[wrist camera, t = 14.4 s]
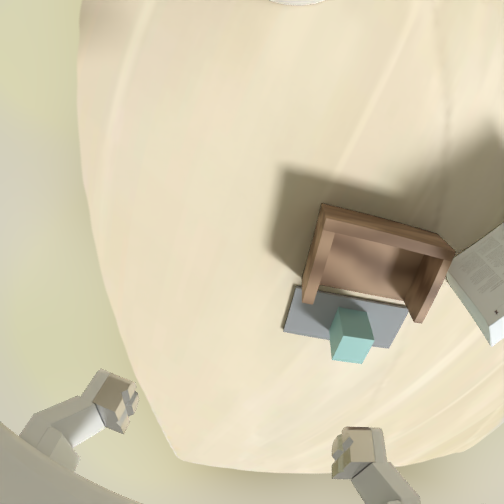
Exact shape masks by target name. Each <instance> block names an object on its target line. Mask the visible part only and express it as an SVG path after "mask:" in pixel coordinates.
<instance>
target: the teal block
mask: <svg viewBox="0 0 504 504" xmlns="http://www.w3.org/2000/svg"><path fill="white" fill-rule="evenodd" d="M329 335H330V345H331V356H332V360H337V361H344V362H352V363H360V364H362V363H363V361H364V359H365V357H366V355H367V354H368V352H369V350H370V348H371V346H372V344H373V343H374V341H375V340H374V336H373V332H372V329H371V325H370V322H369V318H368V315H367V312H363V311H358V310H352V309H347V308H341V307H338V309H337V312H336V314H335V317H334V320H333V322H332V324H331V327H330V329H329Z"/></svg>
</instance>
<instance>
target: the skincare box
mask: <svg viewBox="0 0 504 504" xmlns="http://www.w3.org/2000/svg"><path fill="white" fill-rule="evenodd" d="M446 277H447V280H448V283H449V285H450V287H451V288H452V289H453V291H454V292H455V293H456V295H457V296H458V298H459V299H460V300H461V302H462V303H463V305H464V306H465V307H466V309H467V310H468V312H469V313H470V315H471V316H472V318H473V319H474V321H475V322H476V324H477V325H478V327H479V328H480V330H481V331H482V333H483V335H484V336H485V338H486V339H487V341H488V343H489V344H490V346H491V347H492V346H493V345H495V344H496V343H497V342H499V341H500V340H501V339H503V338H504V222H503V223H502V224H501V225H499V226H498V227H497V228H495V229H494V230H493V231H491V232H490V233H489V234H487V235H486V236H485V237H483V238H482V239H480V240H479V241H478V242H476V243H475V244H473V245H472V246H471V247H469V248H468V249H466V250H465V251H463V252H462V253H460V254H459V255H458V256H456V257H455V258H453V260H452V262H451V265H450V267H449V269H448V272H447V274H446Z"/></svg>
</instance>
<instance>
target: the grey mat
mask: <svg viewBox="0 0 504 504" xmlns="http://www.w3.org/2000/svg"><path fill="white" fill-rule="evenodd" d="M338 307H341V308H347V309H352V310H358V311H363V312H367V315H368V318H369V322H370V325H371V329H372V332H373V336H374V340H375V341H374V343H373V344H372V346H373V347H381V348H389V347H390V345H391V343H392V342H393V340H394V338H395V336H396V334H397V333H398V331H399V329H400V327H401V325H402V323H403V321H404V319H405V318H406V316H407V314H408V312H409V311H408V309H407V307H404V306H398V305H393V304H387V303H382V302H376V301H371V300H366V299H360V298H355V297H350V296H345V295H340V294H334V293H329V292H324V291H319V290H318V291H317V294H316V297H315V300H314V303H313V305H311V304H306V303H302V287H299V286H296V289H295V292H294V296H293V299H292V303H291V306H290V309H289V313H288V316H287V320H286V323H285V326H284V329H283V332H287V333H293V334H298V335H304V336H309V337H315V338H321V339H327V340H330V335H329V329H330V327H331V324H332V322H333V320H334V317H335V314H336V312H337V309H338Z"/></svg>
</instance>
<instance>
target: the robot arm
mask: <svg viewBox="0 0 504 504" xmlns="http://www.w3.org/2000/svg"><path fill="white" fill-rule="evenodd" d="M270 1H273V2H276V3H280V4H286V5H310V4H315V3H319V2H322V1H324V0H270ZM136 387H137V386H136V382H133V381H131V380H128V379H125V378H123V377H120V376H118V375H115V374H113V373H111V372H108V371H106V370H103V369H100V370H99V371H98V372H97V373H96V375H95V376H94V378H93V379H92V380H91V382H90V383H89V385H88V387H87V388H86V389H85V391H84V392H83V394H82V395H81V397H80V396H75V397H73V398H71V399H69V400H66V401H64V402H62V403H59V404H57V405H54V406H52V407H50V408H47V409H45V410H42V411H40V412H38V413H35V414H34V415H33V416H32V418H31V419H30V420H29V422H28V423H27V425H26V426H25V428H24V429H23V431H22V432H21V434H20V435H19V436H18V435H16V434H15V433H14V432H12V431H11V430H10V429H9V428H7V427H6V426H5V425H4V424H3V423H1V422H0V504H142V503H139V502H137V501H134V500H131V499H129V498H127V497H124V496H122V495H119V494H117V493H115V492H113V491H110V490H108V489H106V488H104V487H102V486H99V485H98V484H95V483H94V482H92V481H90V480H88V479H85V478H84V477H82V476H80V475H78V474H76V473H75V472H74V471H75V469H76V467H77V465H78V463H79V461H80V458H79V456H78V454H77V453H76V452H75V450H74V449H73V447H75V446H76V445H78V444H80V443H82V442H83V441H85V440H87V439H88V438H90V437H91V436H93V435H95V434H96V433H98V432H100V431H101V430H103V429H104V428H105V427H107V428H109V429H112V430H114V431H117V432H119V433H122V434H124V433H125V431H126V429H127V427H128V425H129V423H130V421H129V416H130V415H133V414H134V413H135V411H136V409H137V405H138V402H139V396H138V393H137V392H136V391H135V389H136ZM332 457H333V458H334V459H335V462H334V463H333V464H332V479H352V480H351V481H352V483H353V485H354V486H355V488H356V490H357V491H358V493H359V494H360V496H361V498H362V499H363V501H364V502H365V504H421V503H420V496H419V495H418V494H417V493H416V492H415V490H414V489H413V488H412V487H411V486H410V485H409V483H408V482H407V481H406V480H405V479H404V478H403V476H402V475H401V474H400V473H399V472H398V471H397V469H396V468H395V467H394V466H393V465H392V463H391V462H387V457H386V449H385V443H384V436H383V430H382V429H381V428H369V427H344V429H343V430H342V434H341V435H339V436H337V437H336V439H335V440H334V443H333V445H332Z"/></svg>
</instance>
